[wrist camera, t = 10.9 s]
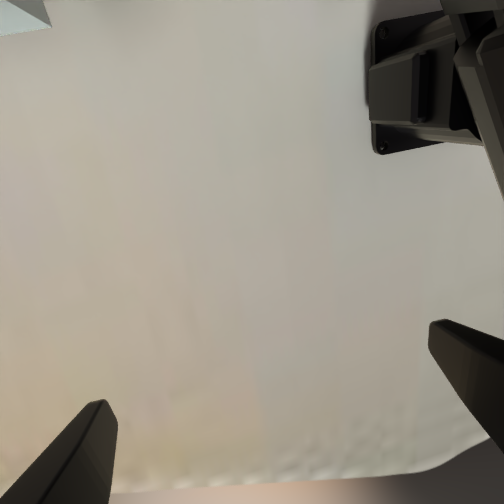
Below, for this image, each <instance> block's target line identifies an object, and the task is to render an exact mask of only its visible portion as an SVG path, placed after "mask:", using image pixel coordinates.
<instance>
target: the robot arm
mask: <svg viewBox="0 0 504 504" xmlns="http://www.w3.org/2000/svg"><path fill="white" fill-rule="evenodd" d="M440 2H441V5H442V8H443V10H442V11H436V12H431V13H425V14H420V15H414V16H409V17H403V18H398V19H392V20H387V21H383V22H381V23H379V24H377V25H376V26H375V27H374V28H373V30H372V33H371V68H370V70H369V72H368V81H369V120H370V121H371V122H372V138H373V150H374V152H375V153H377V154H380V155H386V154H390V153H395V152H400V151H405V150H410V149H415V148H420V147H425V146H429V145H434V144H439V143H444V142H451V143H460V144H470V145H479V146H484V148H485V150H486V153H487V156H488V159H489V161H490V164H491V167H492V170H493V173H494V175H495V178H496V181H497V184H498V186H499V189H500V192H501V195H502V198H503V200H504V0H440ZM381 29H383V30H384V31H385V37H384V38H383V39H382V38H381V37H380V34H379V33H380V30H381ZM382 142H385V147H384V148H383V149H382V150H381V149H380V145H381V143H382ZM428 348H429V351H430V353H431V355H432V356H433V358H434V359H435V361H436V362H437V364H438V365H439V367H440V368H441V370H442V371H443V373H444V374H445V376H446V377H447V379H448V381H449V382H450V384H451V385H452V387H453V388H454V390H455V391H456V393H457V394H458V396H459V397H460V399H461V400H462V402H463V403H464V404H465V406H466V407H467V408H468V410H469V411H470V412H471V413H472V415H473V416H474V417H475V418H476V420H477V421H478V422H479V423H480V425H481V426H482V427H483V429H484V430H485V431H486V432H487V434H488V435H489V436H490V437H491V439H492V440H493V441H494V442H495V443H496V445H497V446H498V447H499V449H500V450H501V451H502V452H503V454H504V340H502V339H500V338H497V337H494V336H491V335H489V334H486V333H483V332H481V331H478V330H475V329H473V328H470V327H467V326H465V325H462V324H459V323H457V322H454V321H451V320H448V319H441V320H437V321H433V322H431V323H430V325H429V337H428ZM117 432H118V422H117V419H116V417H115V415H114V413H113V411H112V409H111V407H110V405H109V403H108V402H107V401H106V400H105V399H101V400H97V401H93V402H90V403H88V404H87V405H86V406H85V407H84V408H83V409H82V410H81V411H80V412H79V413H78V414H77V416H76V417H75V418H74V419H73V420H72V421H71V422H70V423H69V424H68V425H67V426H66V427H65V429H64V430H63V431H62V432H61V433H60V434H59V435H58V436H57V437H56V438H55V439H54V440H53V442H52V443H51V444H50V445H49V446H48V447H47V448H46V449H45V450H44V451H43V452H42V453H41V455H40V456H39V457H38V458H37V459H36V460H35V461H34V462H33V463H32V464H31V465H30V466H29V468H28V469H27V470H26V471H25V472H24V473H23V474H22V475H21V476H20V477H19V478H18V479H17V481H16V482H15V483H14V484H13V485H12V486H11V487H10V488H9V489H8V490H7V491H6V492H5V493H4V495H3V496H2V497H1V498H0V504H108V503H109V497H110V492H111V485H112V477H113V468H114V459H115V450H116V441H117Z"/></svg>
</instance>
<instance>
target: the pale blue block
mask: <svg viewBox="0 0 504 504" xmlns="http://www.w3.org/2000/svg"><path fill="white" fill-rule="evenodd" d="M50 27H52V25H51V23H50V20H49V17H48V14H47V12H46V9H45V6H44V3H43V1H42V0H0V36H5V35H10V34H16V33H22V32H28V31H33V30H39V29H45V28H50Z"/></svg>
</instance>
